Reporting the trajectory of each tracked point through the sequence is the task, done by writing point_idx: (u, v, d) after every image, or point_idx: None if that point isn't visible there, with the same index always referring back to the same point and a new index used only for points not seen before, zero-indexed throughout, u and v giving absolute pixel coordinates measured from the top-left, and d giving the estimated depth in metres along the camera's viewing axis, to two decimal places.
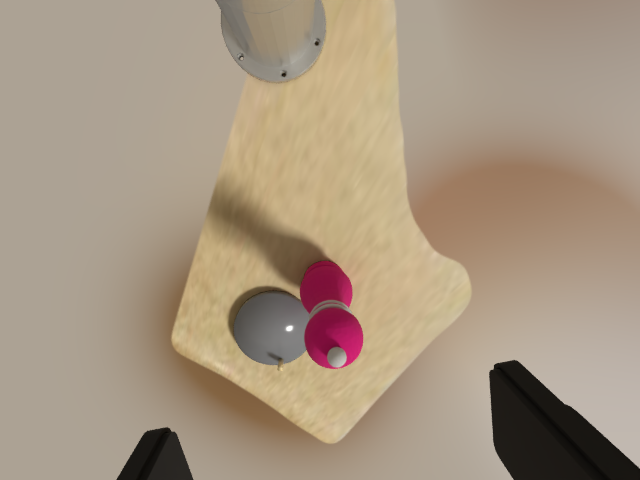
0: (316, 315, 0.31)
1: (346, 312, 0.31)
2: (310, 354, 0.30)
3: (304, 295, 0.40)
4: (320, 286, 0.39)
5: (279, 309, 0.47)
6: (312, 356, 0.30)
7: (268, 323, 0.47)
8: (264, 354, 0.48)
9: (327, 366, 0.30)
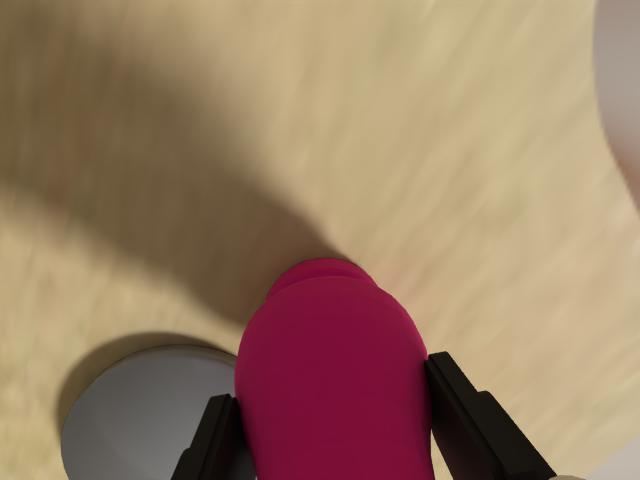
0: None
1: None
2: None
3: (241, 400, 0.09)
4: (308, 378, 0.08)
5: (191, 402, 0.16)
6: None
7: (162, 439, 0.16)
8: None
9: None
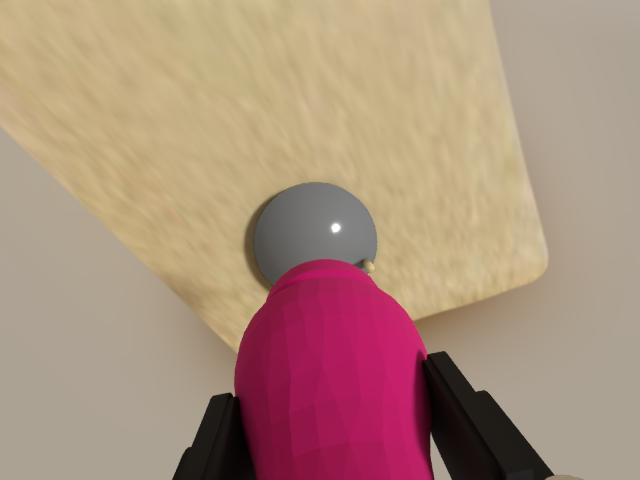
0: None
1: None
2: None
3: (241, 401, 0.09)
4: (308, 379, 0.08)
5: (289, 220, 0.30)
6: None
7: (300, 246, 0.30)
8: None
9: None
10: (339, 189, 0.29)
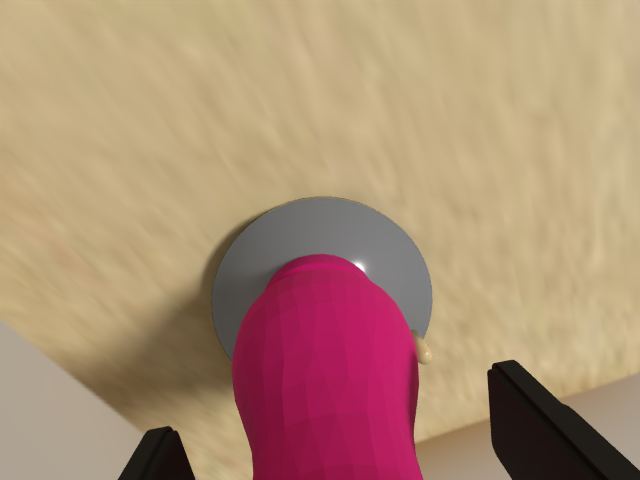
0: None
1: None
2: None
3: (238, 383, 0.10)
4: (300, 360, 0.09)
5: (275, 266, 0.16)
6: None
7: None
8: None
9: None
10: (367, 210, 0.16)
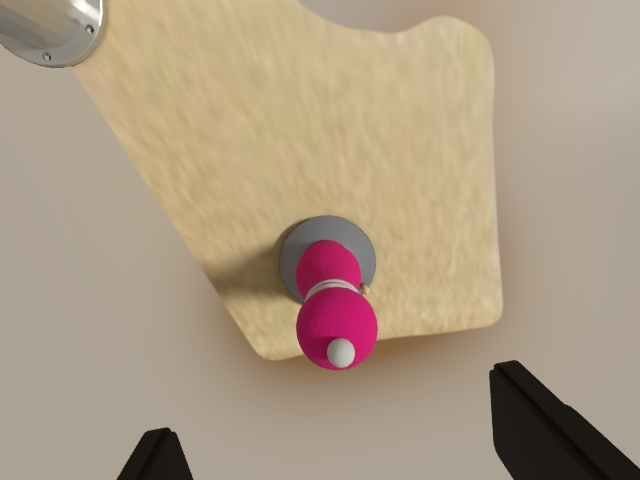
0: (320, 292, 0.23)
1: (361, 296, 0.23)
2: (302, 342, 0.22)
3: (302, 271, 0.32)
4: (326, 264, 0.30)
5: (312, 241, 0.38)
6: (304, 346, 0.22)
7: None
8: None
9: (322, 364, 0.22)
10: (355, 226, 0.38)
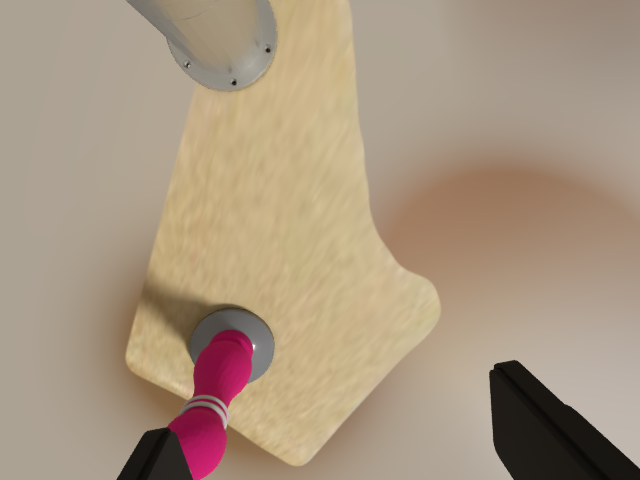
0: (204, 418, 0.29)
1: (225, 439, 0.30)
2: None
3: (209, 359, 0.38)
4: (228, 372, 0.37)
5: (236, 328, 0.44)
6: None
7: None
8: None
9: None
10: (271, 344, 0.45)
